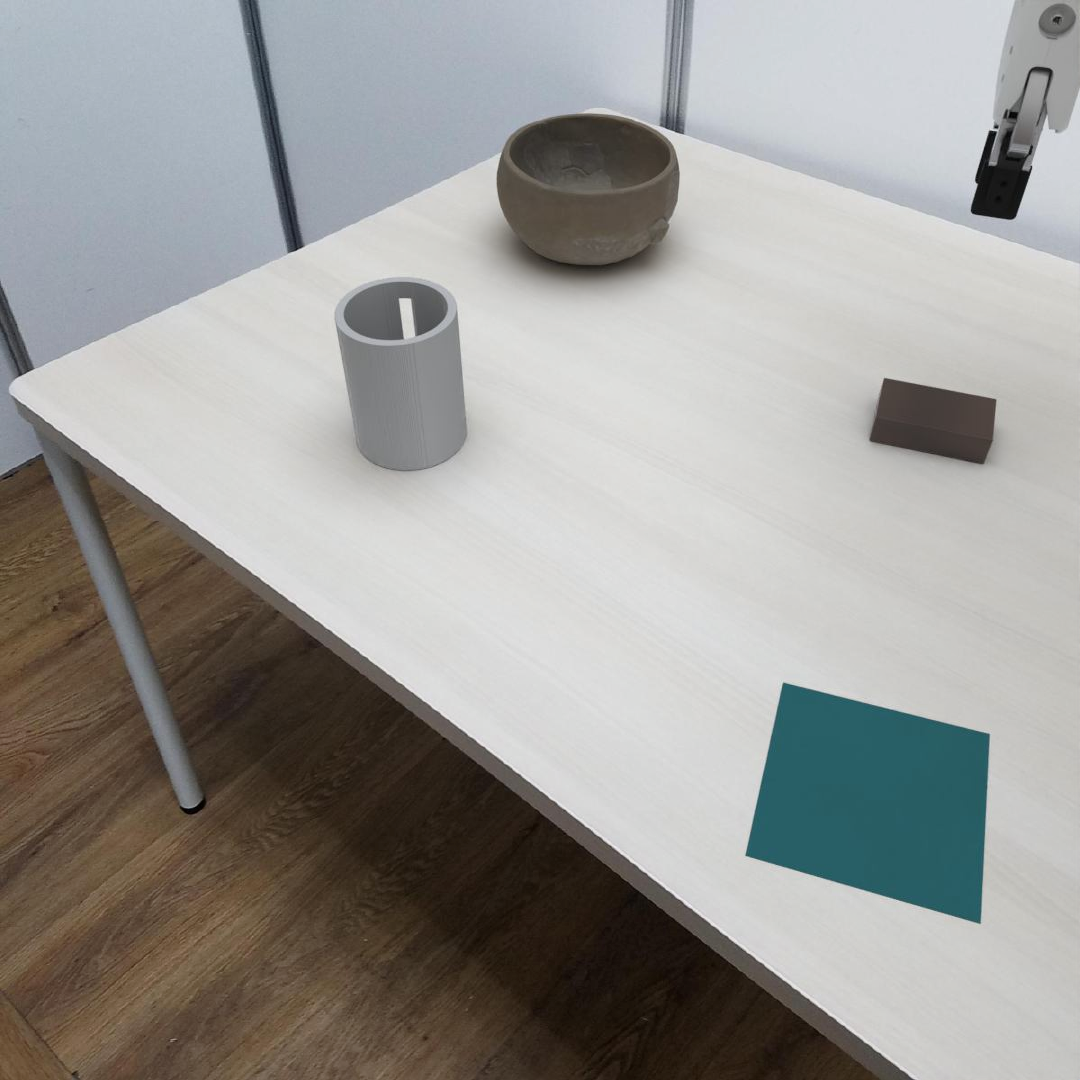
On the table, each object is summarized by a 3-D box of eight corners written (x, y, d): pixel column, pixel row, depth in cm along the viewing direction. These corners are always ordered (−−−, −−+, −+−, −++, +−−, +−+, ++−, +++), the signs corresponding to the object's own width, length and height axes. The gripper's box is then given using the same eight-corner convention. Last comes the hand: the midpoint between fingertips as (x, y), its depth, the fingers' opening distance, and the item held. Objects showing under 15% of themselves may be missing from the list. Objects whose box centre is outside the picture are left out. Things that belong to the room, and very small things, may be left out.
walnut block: (988, 422, 88) (996, 398, 87) (983, 464, 85) (993, 440, 83) (877, 401, 91) (883, 377, 89) (868, 440, 87) (875, 416, 85)
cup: (380, 483, 84) (359, 359, 75) (341, 419, 90) (318, 296, 81) (484, 448, 87) (476, 324, 78) (440, 388, 93) (428, 265, 84)
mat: (988, 735, 67) (989, 733, 67) (979, 924, 59) (980, 923, 59) (782, 684, 70) (783, 682, 70) (745, 856, 62) (745, 855, 62)
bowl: (703, 264, 106) (713, 169, 99) (537, 304, 102) (536, 207, 94) (627, 187, 117) (632, 97, 110) (475, 220, 113) (470, 127, 106)
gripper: (1149, -20, 61) (1044, 265, 74) (1138, -103, 72) (1049, 158, 85) (1010, -34, 62) (931, 247, 75) (1021, -112, 73) (951, 144, 86)
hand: (994, 197), depth 80 cm, fingers open, 4 cm apart
